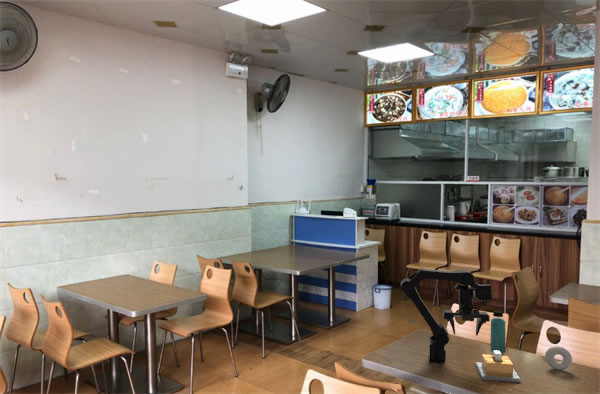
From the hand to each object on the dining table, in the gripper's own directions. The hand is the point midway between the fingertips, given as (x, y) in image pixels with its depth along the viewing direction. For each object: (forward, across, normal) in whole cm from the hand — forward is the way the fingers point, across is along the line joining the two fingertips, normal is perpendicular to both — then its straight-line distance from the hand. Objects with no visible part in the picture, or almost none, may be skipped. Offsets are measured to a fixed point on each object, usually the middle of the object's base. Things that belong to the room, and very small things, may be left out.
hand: (465, 335), depth 200 cm
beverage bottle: (+12, +16, +12) cm, 23 cm away
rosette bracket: (+12, +11, -10) cm, 19 cm away
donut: (+12, +37, -1) cm, 39 cm away
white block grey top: (+12, +11, -10) cm, 19 cm away
